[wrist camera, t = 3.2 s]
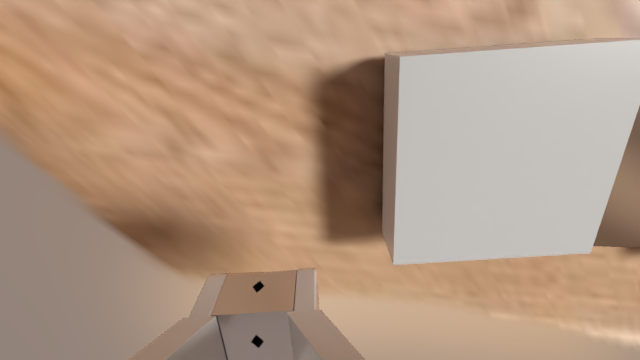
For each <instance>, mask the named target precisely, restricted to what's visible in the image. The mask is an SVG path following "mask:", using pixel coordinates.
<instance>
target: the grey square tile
mask: <svg viewBox="0 0 640 360" xmlns="http://www.w3.org/2000/svg"><path fill="white" fill-rule="evenodd" d="M639 106H640V38H593V39H579V40H565V41H550V42H536V43H522V44H508V45H494V46H480V47H466V48H452V49H438V50H424V51H410V52H396V53H385V64H384V121H383V193H382V233H383V236H384V239H385V242H386V245H387V248H388V251H389V254H390V257H391V260H392V263H393V265H401V264H418V263H434V262H451V261H467V260H484V259H500V258H517V257H533V256H549V255H566V254H582V253H591V250H592V247H593V244H594V241H595V238H596V235H597V232H598V229H599V226H600V223H601V220H602V217H603V214H604V211H605V208H606V205H607V202H608V199H609V196H610V193H611V190H612V187H613V184H614V181H615V178H616V175H617V172H618V169H619V166H620V163H621V160H622V157H623V154H624V151H625V148H626V145H627V142H628V139H629V136H630V133H631V130H632V127H633V124H634V121H635V118H636V115H637V112H638V109H639Z"/></svg>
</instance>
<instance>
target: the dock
mask: <svg viewBox="0 0 640 360" xmlns="http://www.w3.org/2000/svg"><path fill="white" fill-rule="evenodd" d="M593 246H611V247H640V106H639V109H638V112H637V115H636V118H635V121H634V124H633V127H632V130H631V133H630V136H629V139H628V142H627V145H626V148H625V151H624V154H623V157H622V160H621V163H620V166H619V169H618V172H617V175H616V178H615V181H614V184H613V187H612V190H611V193H610V196H609V199H608V202H607V205H606V208H605V211H604V214H603V217H602V220H601V223H600V226H599V229H598V232H597V235H596V238H595V241H594V244H593Z"/></svg>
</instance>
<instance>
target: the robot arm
mask: <svg viewBox="0 0 640 360" xmlns="http://www.w3.org/2000/svg"><path fill="white" fill-rule="evenodd" d="M129 360H365V359H364V358H363V357H362V356H361V354H360V353H359V352H358V351H357V350H356V349H355V348H354V346H353V345H352V344H351V343H350V342H349V341H348V340H347V339H346V337H345V336H344V335H343V334H342V333H341V332H340V331H339V330H338V328H337V327H336V326H335V325H334V324H333V323H332V322H331V321H330V320H329V318H328V317H327V316H326V315H325V314H324V313H323V312H322V310H319V298H318V286H317V274H316V269H315V268H306V269H298V270H289V271H273V272H248V273H229V274H227V273H226V274H211V275H210V276H209V277H208V278H207V280H206V282H205V284H204V286H203V288H202V291H201V293H200V295H199V297H198V299H197V301H196V303H195V305H194V307H193V310H192V311H191V314H190V316H189V318H183V319H182V320H180V321H179V322H177V323H176V324H175V325H173V326H172V327H171V328H169V329H168V330H167V331H165V332H164V333H163V334H161V335H160V336H159V337H158V338H156V339H155V340H154V341H152V342H151V343H150V344H148V345H147V346H146V347H144V348H143V349H142V350H140V351H139V352H138V353H137V354H135V355H134V356H133V357H131V358H130V359H129Z"/></svg>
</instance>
